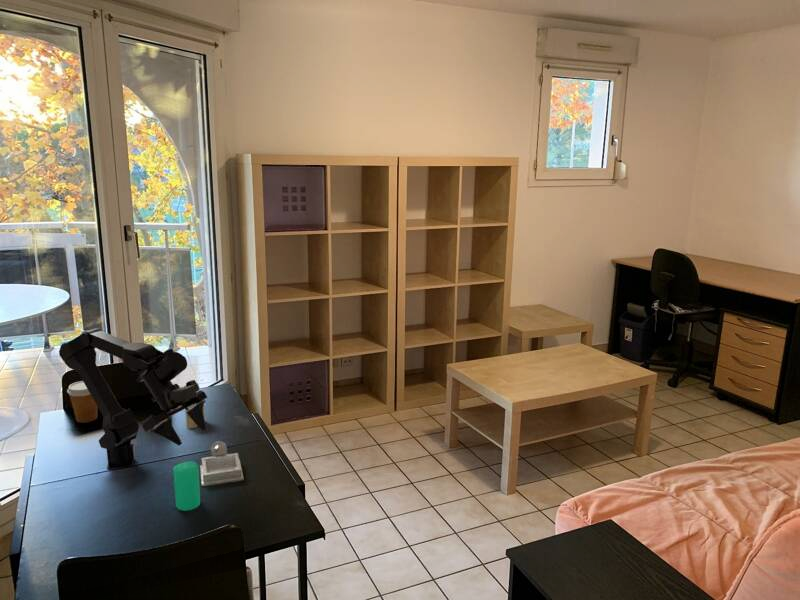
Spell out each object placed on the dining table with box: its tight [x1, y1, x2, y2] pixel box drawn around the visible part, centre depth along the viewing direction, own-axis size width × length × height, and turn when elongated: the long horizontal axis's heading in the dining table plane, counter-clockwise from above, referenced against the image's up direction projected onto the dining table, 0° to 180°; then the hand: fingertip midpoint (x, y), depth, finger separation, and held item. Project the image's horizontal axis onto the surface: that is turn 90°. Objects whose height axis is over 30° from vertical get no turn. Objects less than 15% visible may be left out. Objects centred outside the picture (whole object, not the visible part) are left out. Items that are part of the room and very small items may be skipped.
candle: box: [172, 461, 201, 512], centre depth 154 cm, size 6×6×12 cm
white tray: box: [199, 440, 245, 488], centre depth 172 cm, size 11×17×4 cm, turn 20°
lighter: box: [184, 400, 206, 429], centre depth 199 cm, size 7×4×10 cm, turn 158°
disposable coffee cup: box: [66, 380, 99, 424], centre depth 201 cm, size 10×10×12 cm
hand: (192, 437), depth 161 cm, fingers open, 9 cm apart
